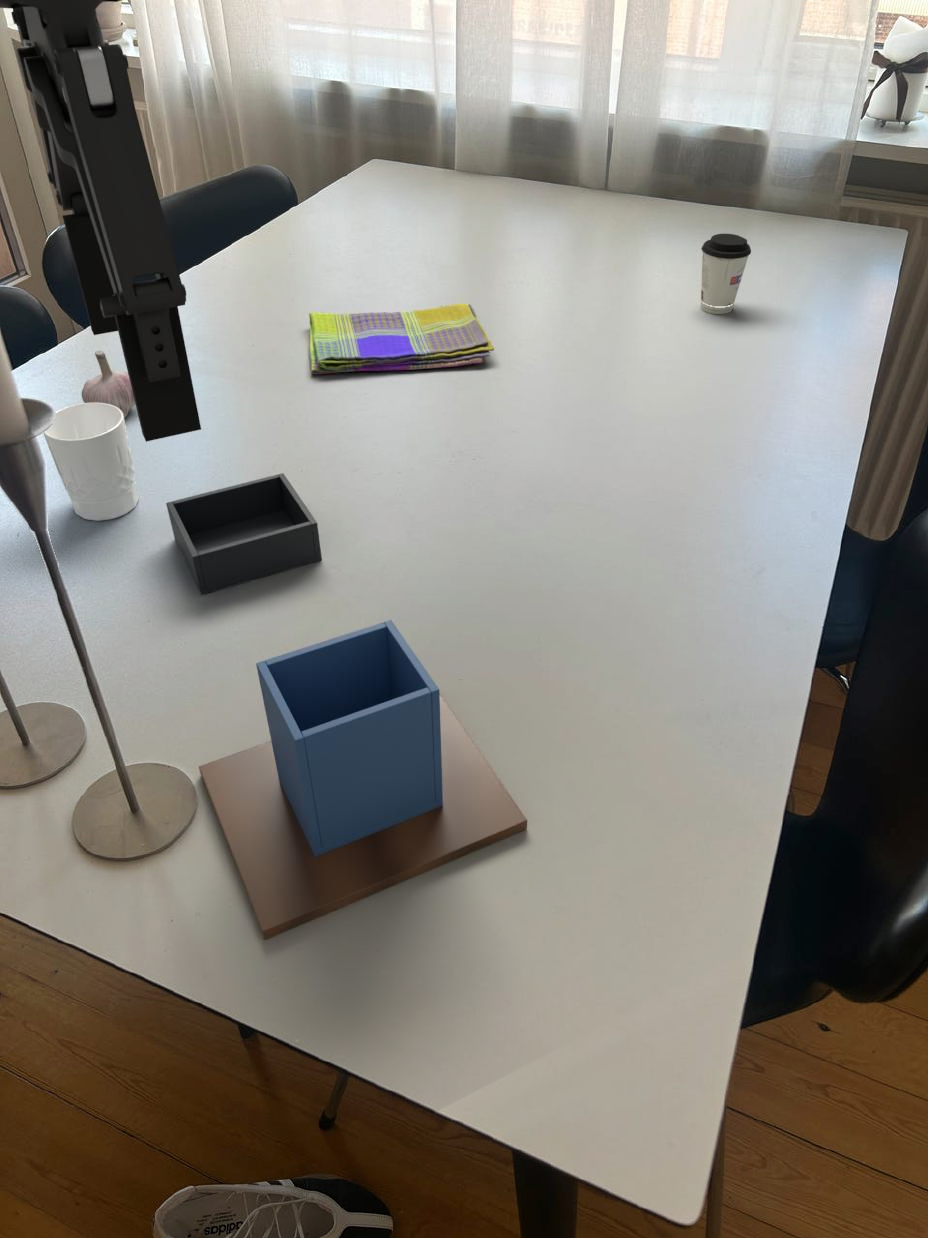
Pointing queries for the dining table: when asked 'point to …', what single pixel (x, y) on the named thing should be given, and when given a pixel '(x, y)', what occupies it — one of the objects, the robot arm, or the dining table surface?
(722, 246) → the coffee cup
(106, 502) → the white cup
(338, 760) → the blue bin
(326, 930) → the dining table surface
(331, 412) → the dining table surface
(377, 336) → the dish towel
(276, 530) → the charcoal bin
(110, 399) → the garlic bulb
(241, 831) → the brown wooden flat board
